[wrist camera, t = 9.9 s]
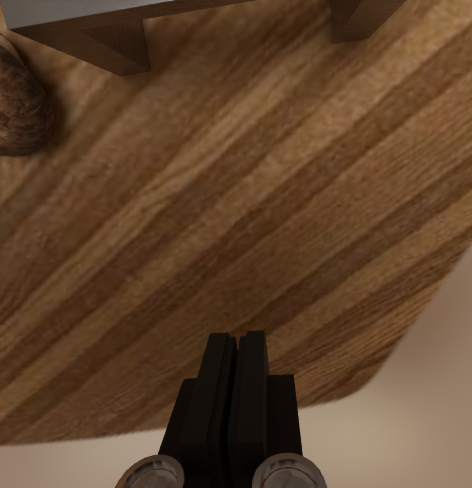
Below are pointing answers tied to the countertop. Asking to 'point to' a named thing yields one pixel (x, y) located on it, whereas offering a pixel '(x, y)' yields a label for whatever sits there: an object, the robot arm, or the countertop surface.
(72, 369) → the countertop surface
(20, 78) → the brown rounded lump
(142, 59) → the bridge
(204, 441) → the robot arm
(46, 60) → the countertop surface
